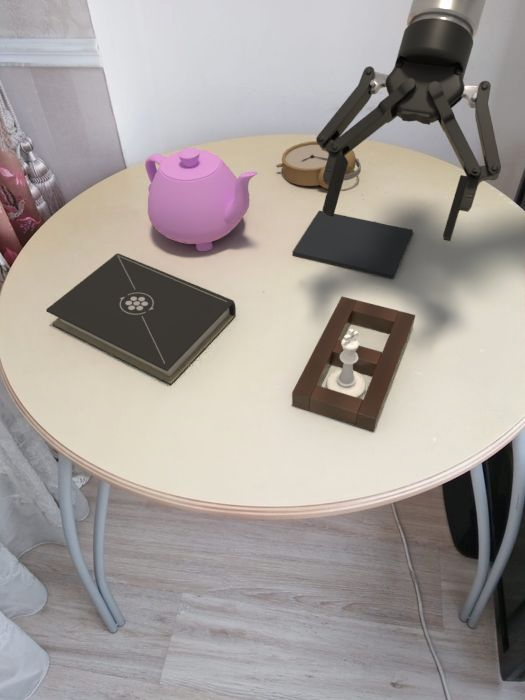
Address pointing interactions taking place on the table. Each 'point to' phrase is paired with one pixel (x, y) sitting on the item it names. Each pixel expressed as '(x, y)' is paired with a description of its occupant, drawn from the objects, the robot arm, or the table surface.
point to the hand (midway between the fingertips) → (385, 226)
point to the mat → (354, 244)
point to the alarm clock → (312, 164)
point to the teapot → (195, 197)
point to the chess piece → (348, 370)
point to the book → (143, 316)
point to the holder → (369, 362)
